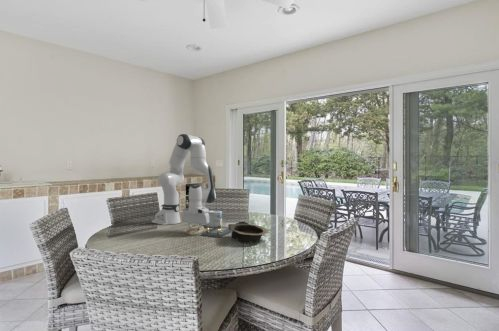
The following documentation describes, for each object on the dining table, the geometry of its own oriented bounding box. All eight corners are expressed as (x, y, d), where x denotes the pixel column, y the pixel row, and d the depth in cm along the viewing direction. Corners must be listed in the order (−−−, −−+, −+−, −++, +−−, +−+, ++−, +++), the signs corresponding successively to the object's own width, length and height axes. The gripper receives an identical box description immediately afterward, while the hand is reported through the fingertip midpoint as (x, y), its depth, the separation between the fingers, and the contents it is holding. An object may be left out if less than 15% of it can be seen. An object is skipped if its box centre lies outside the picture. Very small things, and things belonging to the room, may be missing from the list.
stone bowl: (222, 235, 185) (223, 221, 185) (257, 235, 194) (259, 221, 195) (234, 246, 162) (236, 229, 162) (274, 245, 172) (275, 229, 172)
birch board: (186, 234, 190) (186, 229, 190) (197, 229, 202) (197, 225, 202) (192, 235, 188) (192, 230, 188) (203, 230, 200) (203, 226, 200)
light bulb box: (222, 225, 216) (222, 210, 215) (220, 227, 209) (220, 212, 209) (208, 224, 217) (208, 210, 217) (205, 226, 210) (206, 211, 210)
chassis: (201, 235, 187) (201, 228, 187) (218, 228, 206) (218, 221, 206) (220, 237, 182) (220, 230, 181) (235, 230, 201) (235, 223, 201)
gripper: (179, 208, 196) (179, 229, 196) (205, 211, 187) (205, 232, 188) (185, 207, 201) (185, 227, 202) (210, 209, 193) (210, 230, 193)
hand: (195, 229), depth 195 cm, fingers closed on birch board, 5 cm apart
